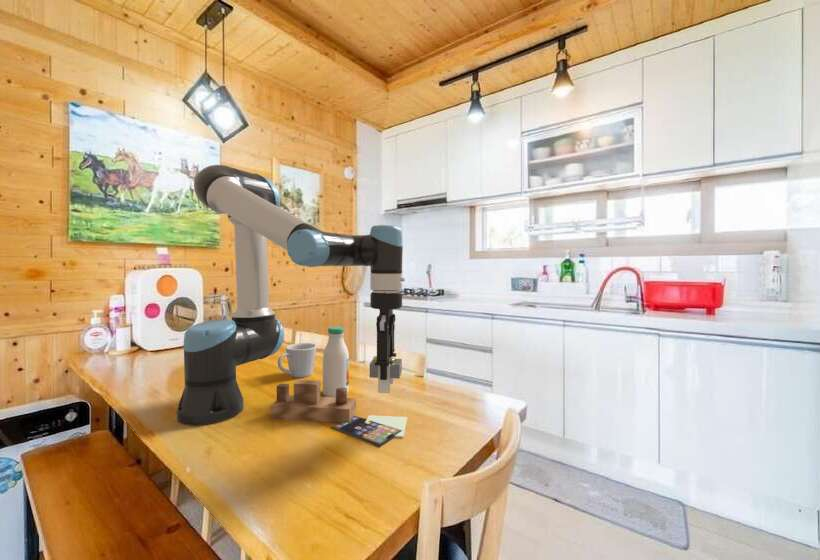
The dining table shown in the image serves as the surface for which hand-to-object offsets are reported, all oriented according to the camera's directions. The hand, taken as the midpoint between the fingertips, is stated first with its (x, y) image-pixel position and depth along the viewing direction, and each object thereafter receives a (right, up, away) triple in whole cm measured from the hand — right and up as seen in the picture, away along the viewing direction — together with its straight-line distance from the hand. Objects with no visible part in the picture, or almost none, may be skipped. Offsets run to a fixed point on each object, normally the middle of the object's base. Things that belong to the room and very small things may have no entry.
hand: (385, 387), depth 85 cm
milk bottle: (-17, -8, +22) cm, 29 cm away
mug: (-33, -7, +37) cm, 51 cm away
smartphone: (-5, -10, -1) cm, 11 cm away
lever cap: (0, +3, 0) cm, 3 cm away
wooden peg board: (-19, -9, +7) cm, 22 cm away
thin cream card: (0, -10, +1) cm, 10 cm away
